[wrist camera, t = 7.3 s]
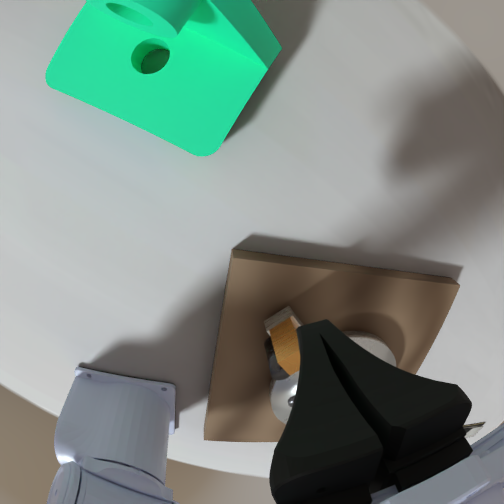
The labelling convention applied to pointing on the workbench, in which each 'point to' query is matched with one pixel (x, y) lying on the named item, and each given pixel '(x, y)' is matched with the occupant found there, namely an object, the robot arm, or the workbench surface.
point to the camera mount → (167, 65)
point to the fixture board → (309, 311)
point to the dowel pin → (274, 362)
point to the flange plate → (289, 357)
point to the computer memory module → (472, 429)
